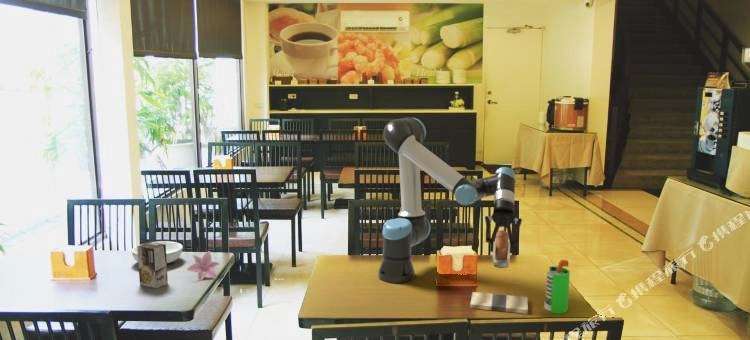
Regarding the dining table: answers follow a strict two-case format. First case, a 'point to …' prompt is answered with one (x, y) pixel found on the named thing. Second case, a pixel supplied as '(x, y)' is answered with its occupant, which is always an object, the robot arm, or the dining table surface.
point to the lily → (204, 266)
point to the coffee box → (152, 264)
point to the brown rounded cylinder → (501, 249)
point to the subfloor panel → (499, 302)
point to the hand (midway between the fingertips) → (501, 260)
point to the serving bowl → (171, 250)
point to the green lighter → (557, 288)
